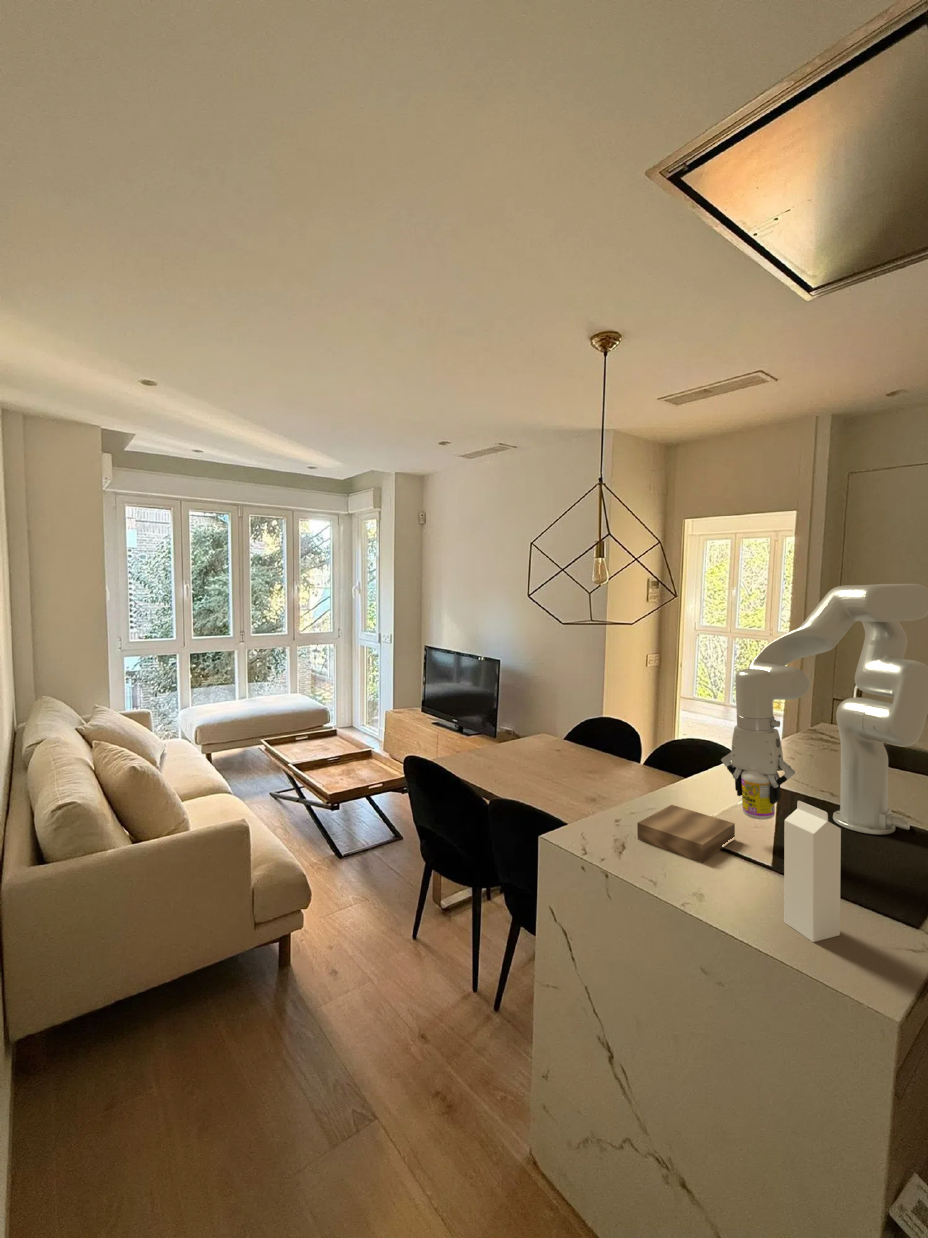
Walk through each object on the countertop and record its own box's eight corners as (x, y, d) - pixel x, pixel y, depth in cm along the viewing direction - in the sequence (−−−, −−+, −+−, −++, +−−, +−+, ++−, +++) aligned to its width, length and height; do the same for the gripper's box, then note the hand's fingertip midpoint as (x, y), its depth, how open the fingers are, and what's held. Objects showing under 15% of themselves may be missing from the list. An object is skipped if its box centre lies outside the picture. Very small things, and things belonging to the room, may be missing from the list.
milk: (813, 943, 93) (813, 815, 92) (783, 922, 99) (783, 802, 98) (840, 935, 95) (841, 810, 94) (809, 915, 101) (810, 797, 100)
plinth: (734, 839, 132) (734, 823, 131) (702, 862, 121) (702, 845, 121) (671, 819, 144) (671, 804, 144) (637, 839, 133) (637, 822, 133)
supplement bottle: (736, 810, 132) (734, 757, 132) (763, 807, 133) (761, 755, 132) (753, 822, 126) (751, 767, 125) (781, 819, 126) (779, 764, 125)
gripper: (802, 725, 124) (805, 803, 125) (724, 714, 137) (727, 785, 138) (790, 732, 119) (792, 813, 120) (710, 720, 132) (713, 794, 133)
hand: (757, 797), depth 129 cm, fingers closed on supplement bottle, 6 cm apart
